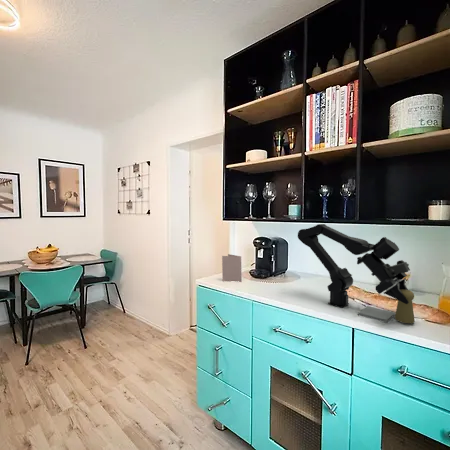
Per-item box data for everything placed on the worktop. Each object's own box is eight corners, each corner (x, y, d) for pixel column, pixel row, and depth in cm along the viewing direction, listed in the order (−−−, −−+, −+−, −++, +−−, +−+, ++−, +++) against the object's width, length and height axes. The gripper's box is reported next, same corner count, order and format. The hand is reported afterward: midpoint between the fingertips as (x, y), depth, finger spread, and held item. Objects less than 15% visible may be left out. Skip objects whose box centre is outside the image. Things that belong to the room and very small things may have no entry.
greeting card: (242, 281, 155) (242, 256, 154) (233, 284, 150) (232, 257, 149) (229, 278, 163) (229, 253, 163) (220, 280, 159) (219, 255, 158)
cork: (406, 316, 100) (407, 287, 100) (418, 323, 94) (420, 292, 94) (391, 316, 100) (392, 287, 100) (402, 323, 94) (403, 293, 94)
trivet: (358, 314, 104) (358, 312, 104) (367, 308, 111) (367, 305, 111) (386, 322, 97) (386, 319, 97) (395, 314, 104) (395, 312, 104)
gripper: (386, 257, 92) (424, 296, 85) (401, 250, 105) (435, 284, 98) (361, 275, 99) (395, 312, 91) (378, 267, 111) (409, 299, 104)
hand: (409, 301), depth 96 cm, fingers closed on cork, 5 cm apart
